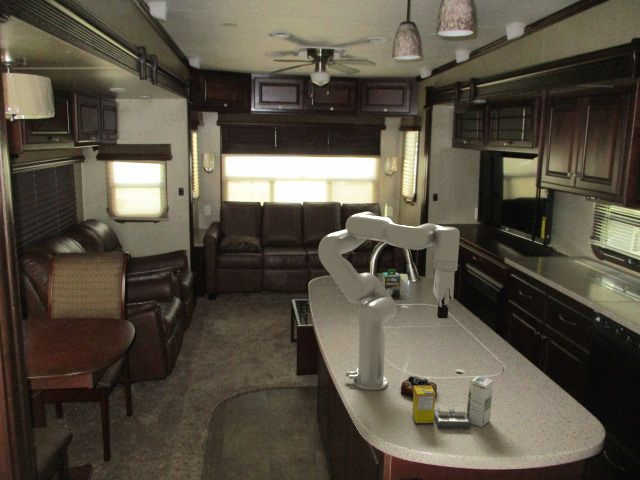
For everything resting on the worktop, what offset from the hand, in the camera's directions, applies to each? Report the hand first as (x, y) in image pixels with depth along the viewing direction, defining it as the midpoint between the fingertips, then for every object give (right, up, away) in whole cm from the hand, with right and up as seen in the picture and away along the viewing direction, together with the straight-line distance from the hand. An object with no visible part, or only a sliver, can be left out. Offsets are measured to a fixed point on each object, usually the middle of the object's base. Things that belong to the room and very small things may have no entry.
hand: (442, 317), depth 185 cm
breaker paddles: (+1, -30, -7) cm, 31 cm away
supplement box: (-8, -33, -5) cm, 34 cm away
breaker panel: (+1, -33, -7) cm, 34 cm away
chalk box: (0, -5, +133) cm, 133 cm away
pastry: (-5, -29, +13) cm, 33 cm away
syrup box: (+10, -33, -6) cm, 35 cm away
